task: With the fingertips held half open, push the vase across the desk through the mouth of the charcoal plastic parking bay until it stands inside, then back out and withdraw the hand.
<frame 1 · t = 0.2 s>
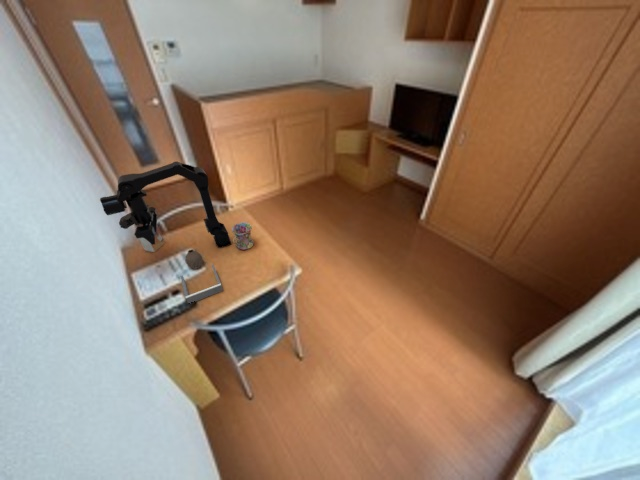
hand: (154, 237, 115), 14 cm above the table, fingers open, 9 cm apart
bay: (202, 285, 113), on the table
small box: (155, 246, 133), on the table
mug: (244, 247, 133), on the table
vase: (196, 265, 122), on the table
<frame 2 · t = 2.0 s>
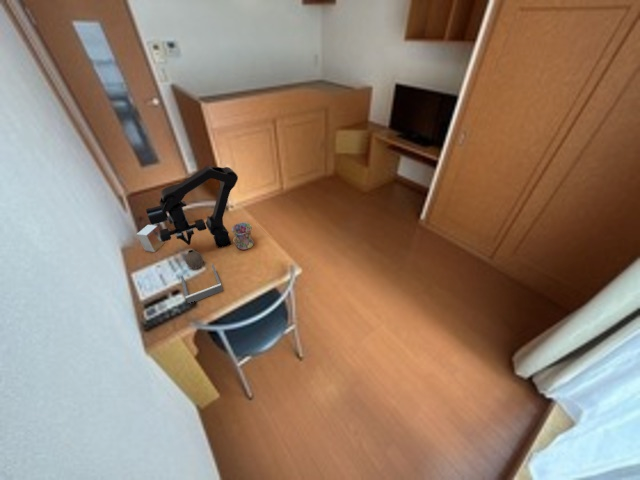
hand: (189, 244, 124), 6 cm above the table, fingers closed
nothing on the table moved.
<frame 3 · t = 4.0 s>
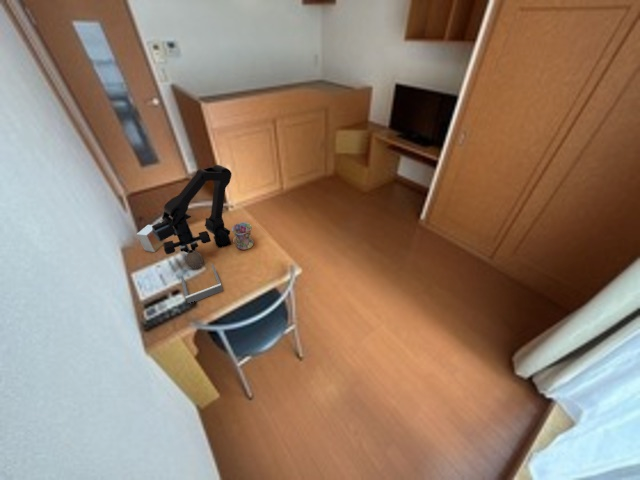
hand: (193, 256, 124), 2 cm above the table, fingers closed, pressing on vase
vase: (196, 265, 122), on the table, touching gripper
everything else where it was.
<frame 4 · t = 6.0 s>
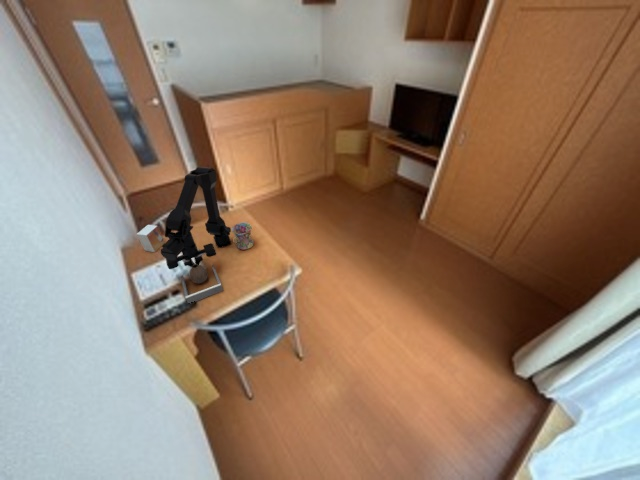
hand: (197, 269, 117), 2 cm above the table, fingers closed, pressing on vase
vase: (200, 280, 115), on the table, touching gripper
everything else where it was.
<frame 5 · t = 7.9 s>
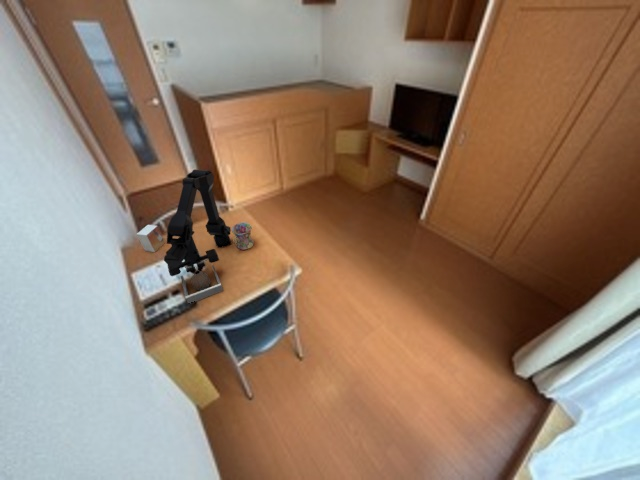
hand: (199, 275, 114), 2 cm above the table, fingers closed
vase: (203, 287, 112), on the table
everything else where it was.
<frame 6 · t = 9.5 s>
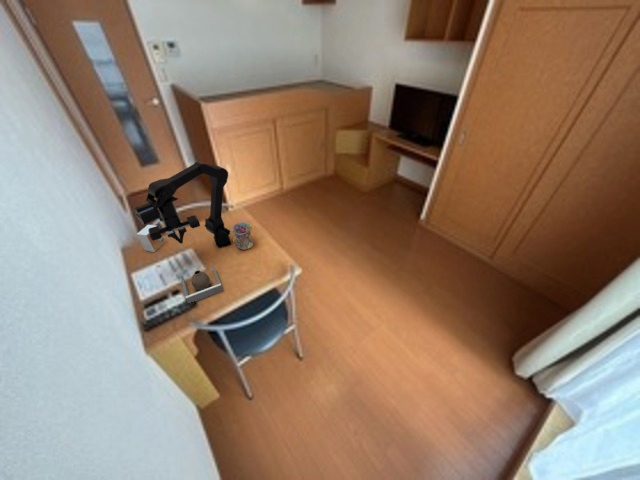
hand: (181, 242, 116), 12 cm above the table, fingers closed
nothing on the table moved.
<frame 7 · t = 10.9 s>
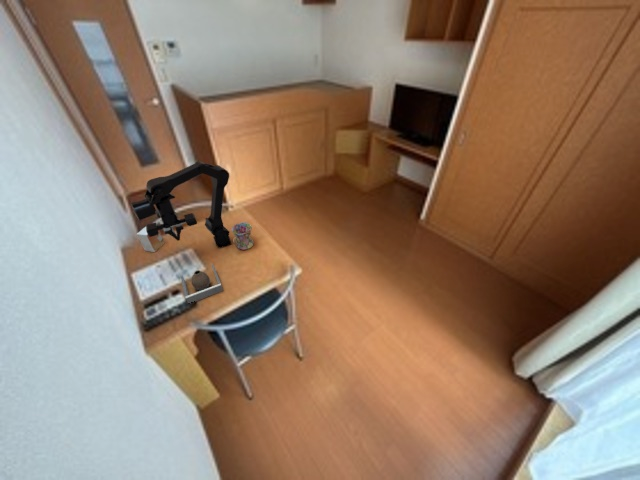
hand: (178, 240, 117), 12 cm above the table, fingers closed
nothing on the table moved.
at the end: vase 0.1 cm off-centre on the bay, point 0.0 cm above the bay's base; vase tilted 0° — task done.
